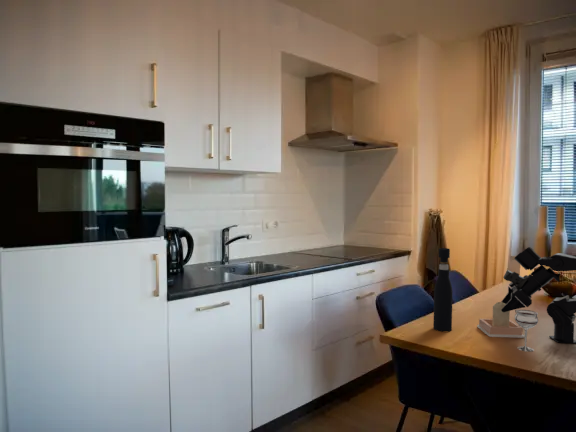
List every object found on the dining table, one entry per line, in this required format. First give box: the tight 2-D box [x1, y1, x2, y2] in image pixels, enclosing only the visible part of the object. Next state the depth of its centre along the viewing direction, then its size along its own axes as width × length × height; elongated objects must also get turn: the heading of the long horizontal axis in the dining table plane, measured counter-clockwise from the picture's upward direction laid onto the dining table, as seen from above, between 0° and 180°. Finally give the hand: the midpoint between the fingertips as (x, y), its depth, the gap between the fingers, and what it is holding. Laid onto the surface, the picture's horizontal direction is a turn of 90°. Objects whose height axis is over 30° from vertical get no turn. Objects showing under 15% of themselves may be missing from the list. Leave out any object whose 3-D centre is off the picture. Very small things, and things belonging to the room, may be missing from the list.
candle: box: [492, 301, 511, 327], centre depth 161 cm, size 6×6×10 cm
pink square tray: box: [476, 318, 525, 339], centre depth 161 cm, size 12×12×3 cm
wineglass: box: [514, 309, 539, 352], centre depth 143 cm, size 7×7×12 cm
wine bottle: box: [433, 247, 454, 332], centre depth 164 cm, size 6×6×30 cm
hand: (501, 308), depth 161 cm, fingers open, 9 cm apart
